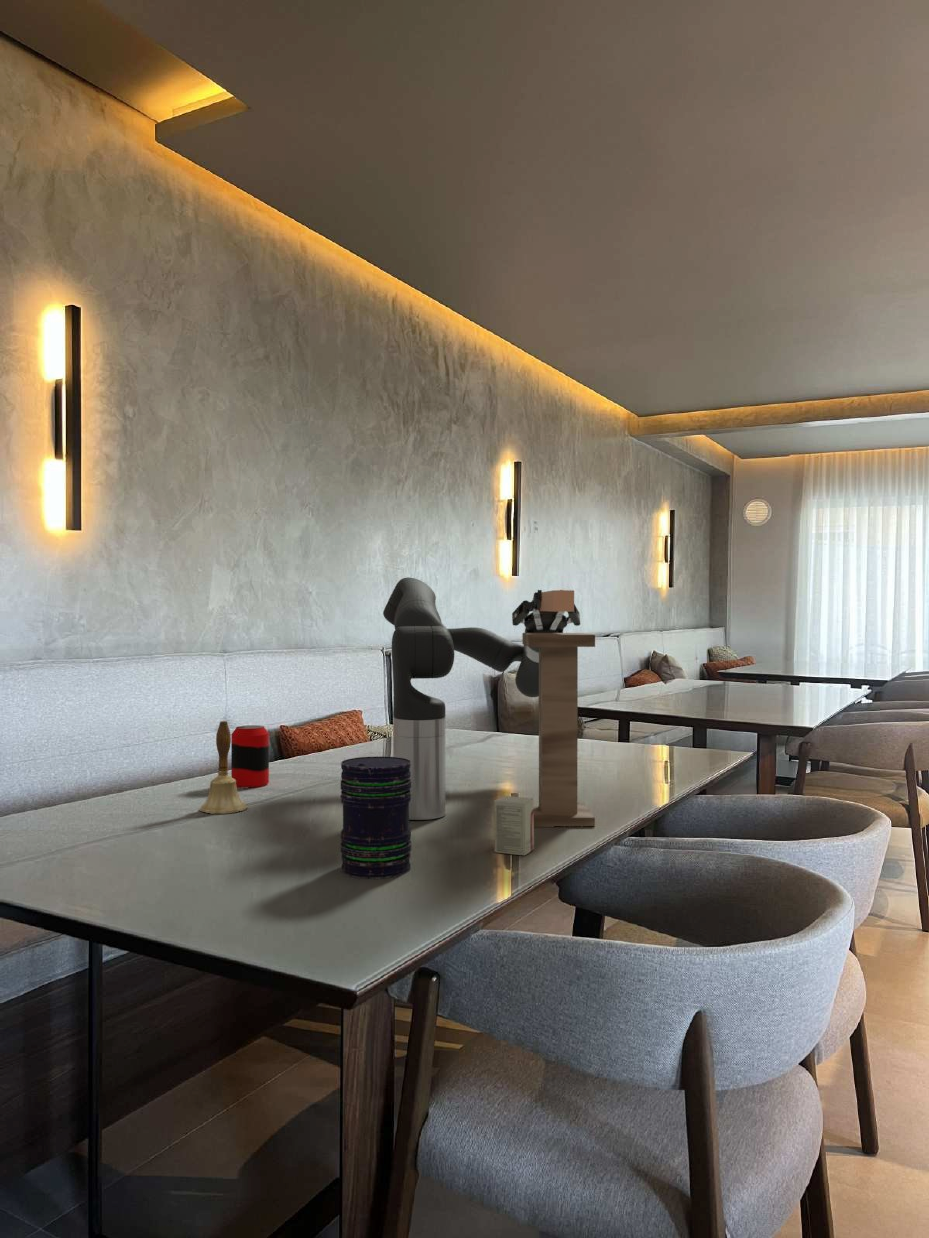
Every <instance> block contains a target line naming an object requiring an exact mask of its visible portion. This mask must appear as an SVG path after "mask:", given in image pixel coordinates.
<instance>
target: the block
mask: <svg viewBox="0 0 929 1238" xmlns="http://www.w3.org/2000/svg"><path fill="white" fill-rule="evenodd" d="M541 594H542V601H541V607H540V609H539V611H565V612H566V611H567V613H568V612H574V604H575V590H574V589H573V590H572V589H571V590H570V589H569V590H567V589H565V590H564V589H559V590H555V589H554V590H547V591H542V592H541Z"/></svg>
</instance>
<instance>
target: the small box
mask: <svg viewBox="0 0 929 1238" xmlns="http://www.w3.org/2000/svg"><path fill="white" fill-rule="evenodd" d="M534 803H535V801H534V797H521V796H509V795H503V796H501V797H499V798H497V799H495V800H493V812H494V813H493V814H494V815H493V816H494V817H493V821H494V822H493V825H494V827H493V828H494V833H493V834H494V835H493V836H494V839H493V840H494V853H499V854H510V855H514V856H515V855H517V856H518V855H519V856H527V855H528V854H529V853H530V852H533V850H534V849H535V827H534Z"/></svg>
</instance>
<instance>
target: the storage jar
mask: <svg viewBox="0 0 929 1238" xmlns="http://www.w3.org/2000/svg"><path fill="white" fill-rule="evenodd" d="M340 767H341V768H340V769H341V770H342V771H341V773H340V775H341V777H340V779H341V780H340V790H341V791H340V802H341V804H342V829H341V831H340V840H341V841H340V853H341V856H340V857H341V861H342V863H341V866H340V867H341V873H342V874H344V875H346V876H348V877H352V878H357V879H366V880H367V879H371V880H372V879H373V880H375V879H377V880H378V879H390V878H393V877H394V878H396V877H400V876H402V875H404V874H407V873H409V872H410V870H411V869H412V868H411V864H412V863H411V862H410V861H411V860H410V859H411V852H412V841H411V839H412V838H411V837H412V829H411V828H410V820H409V802H410V801H411V790H410V789H411V779H410V777H411V772H410V767H411V761H410V760H408V759H404V758H398V757H393V756H361V757H359V756H358V757H351V758H348V759H343V760H342V761H341V763H340Z"/></svg>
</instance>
